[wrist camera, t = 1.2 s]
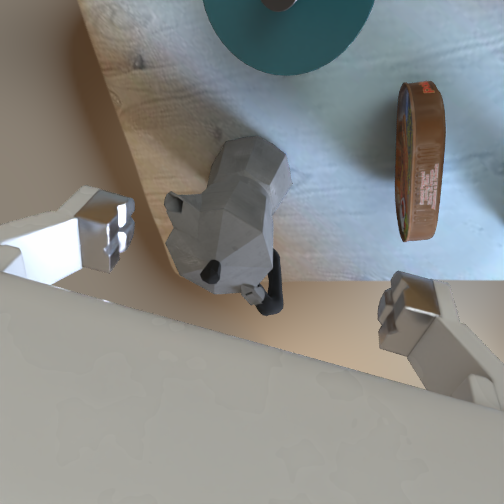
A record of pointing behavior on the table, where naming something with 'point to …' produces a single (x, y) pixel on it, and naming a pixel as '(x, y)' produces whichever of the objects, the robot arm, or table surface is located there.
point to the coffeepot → (233, 224)
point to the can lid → (287, 31)
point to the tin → (419, 159)
